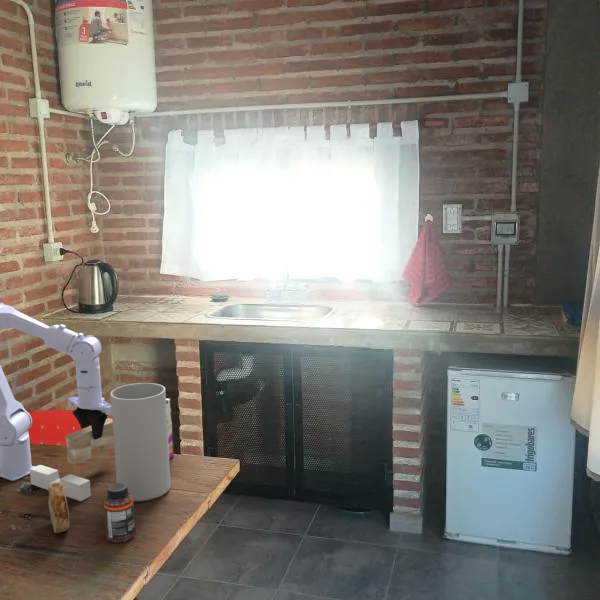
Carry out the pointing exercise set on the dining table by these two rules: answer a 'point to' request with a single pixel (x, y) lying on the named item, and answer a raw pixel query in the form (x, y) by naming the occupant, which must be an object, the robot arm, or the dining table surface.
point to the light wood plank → (88, 443)
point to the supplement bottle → (119, 513)
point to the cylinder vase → (141, 439)
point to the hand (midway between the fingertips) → (92, 436)
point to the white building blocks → (73, 484)
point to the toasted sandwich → (58, 507)
